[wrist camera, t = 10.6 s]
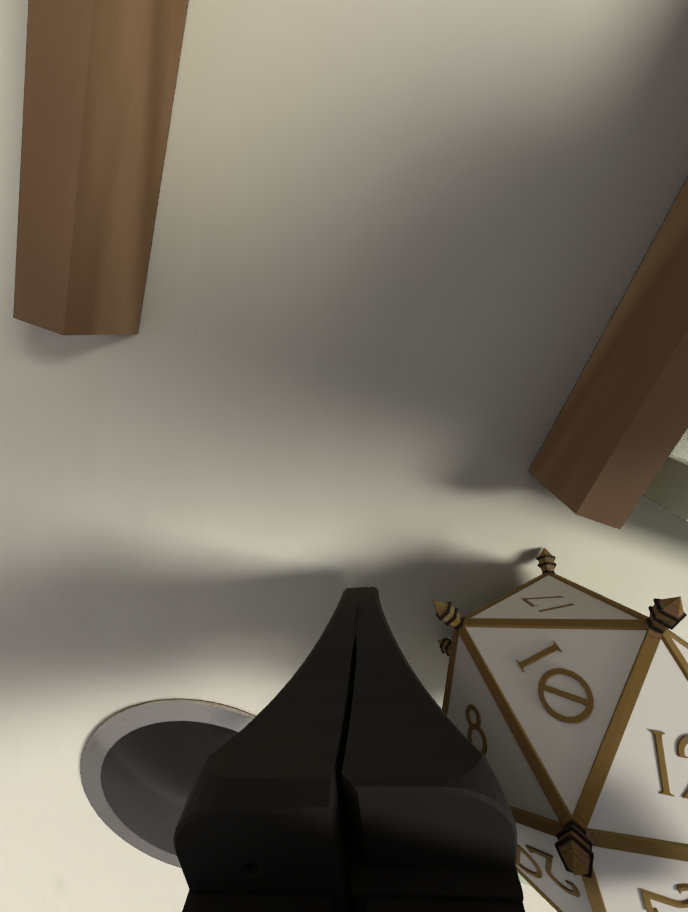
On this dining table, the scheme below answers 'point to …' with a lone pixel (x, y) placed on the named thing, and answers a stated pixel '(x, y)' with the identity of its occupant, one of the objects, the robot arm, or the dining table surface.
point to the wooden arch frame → (133, 217)
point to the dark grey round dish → (153, 767)
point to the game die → (581, 738)
